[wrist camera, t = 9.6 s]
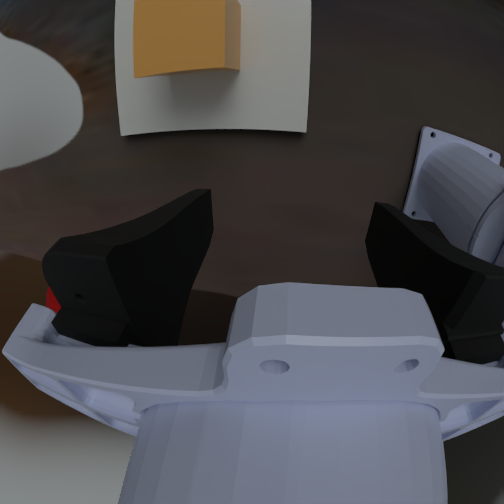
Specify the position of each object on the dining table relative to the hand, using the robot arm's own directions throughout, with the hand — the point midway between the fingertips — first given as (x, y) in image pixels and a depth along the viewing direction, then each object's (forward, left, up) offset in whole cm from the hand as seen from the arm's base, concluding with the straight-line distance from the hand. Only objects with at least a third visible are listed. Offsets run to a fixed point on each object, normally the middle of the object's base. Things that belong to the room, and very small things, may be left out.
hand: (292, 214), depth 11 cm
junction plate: (+6, -9, -9) cm, 14 cm away
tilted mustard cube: (+6, -9, -8) cm, 14 cm away
